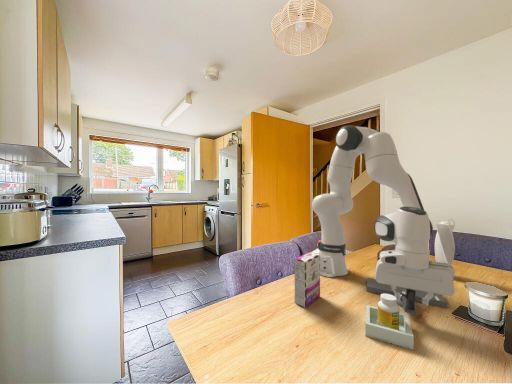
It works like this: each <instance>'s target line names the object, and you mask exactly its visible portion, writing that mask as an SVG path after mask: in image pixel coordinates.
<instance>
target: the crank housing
mask: <svg viewBox="0 0 512 384" xmlns="http://www.w3.org/2000/svg"><path fill="white" fill-rule="evenodd" d="M395 290H396V291H397V292H399V291H406V288H403V287H398V286H396V289H395ZM366 292H368V293H374V294H379V295H381V294H390V295H393V296H395V294H394V292H393V290H392V289H391V285H387V284H382V283H378V282H377V281H376V280H375V277H374V278H373V277H366ZM426 295H427V293H426V292H425V291H420V290H416V298H415V307H416V308H417V303H421V304H422V302H421V301H422V299H421V298H422V297H424V298H425V297H426ZM396 304H397V305H398V307H399V306H400V307H402V308H403V304H402V301H401V300H397V303H396ZM429 305H431V306H437V307H441V308H445V309H448V301H447V300H446V298H445V297H444V295H441V294H436V293H434V294H433V297H432V298H431V299H430V301H429Z"/></svg>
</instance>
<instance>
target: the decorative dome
mask: <svg viewBox="0 0 512 384" xmlns="http://www.w3.org/2000/svg"><path fill="white" fill-rule="evenodd" d="M395 246H396V243H394V244H388V245H385V246H382V248H381V249H380V250H379V251H378V252H377V253H376V254H377V255H376V256H377V259H376V261H378V260H379V259H380V252H382V251H388V250H395Z"/></svg>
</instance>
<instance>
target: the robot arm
mask: <svg viewBox="0 0 512 384" xmlns="http://www.w3.org/2000/svg"><path fill="white" fill-rule="evenodd" d="M335 145H336V146H335V147H334V149H333V152H332V155H331V158H330V163H329V166H328V167H329V168H328V172H327V177H326V181H327V183H328V184H329V190H330V191H329V193H321V194H319V195H317V196H314V197H313V199H312V202H311V208H312V211H313V212H314V214H316V215H317V218H318V220H319V222H320V229H321V230H320V231H321V239H319V240H318V242H317V243H316V247H317V248H316V249H314V250H313V251H311V252H312V253H316V254H320V276H324V277H328V278H334V277H342V276H346V275H347V274H349V271H348V268H347V263H346V261H347V260H346V255H347V254H346V253H347V246H346V241H345V240H346V239H345V237H346V236H345V235H346V234H345V233H346V229H345V226H344V225H343V224H342V221H341V219H340V215H345V214H347V213H349V212H350V211H352V210H353V208H354V200H353V198H352V193H351V186H352V185H351V183H352V178H353V174H354V170H355V165H356V160H357V158H358V157H359V156H360V155H361V156H363V157H364V162H365V170H366V174H367V175H368V177H369V178H370V179H371V180H373V181H374V182H376V183H377V184H380V185H383V186H386V187H389V188H390V189H392V190H393V191H395V192H396V193H397V194H398V196H399V198H400V201H401V203H402V206H401V207H399V208H397V210H396V211H393V212H391V213H386V214H383V215H379V216H378V217H377V218H376V219H375V221H374V232H375V234H376V237H378V239H380V240H381V241H384V242H388V243H389V242H393V243H394V244H395V245H396V246H395V250H388V251H382V252H380V259H379V260H377V262H376V266H375V270H374V271H375V273H374V279H375V280H376V281H377V282H378V283H382V284H387V285H391V289H392V290H393V292H394V294H395V297H396V298H397V300H400V293H398V292H397V291H396V290H395V289H396V286H398V287H403V288H409V289H414V290H420V291H425V292H426V293H427V295H426V297H425V298H424V297H422V298H421V299H422V301H421V302H422V303H421V302H420V303H421V304H422V306H427V307H429V305H430V304H429V301H430V299H431V298H432V297H433V294H434V293H436V294H441V295H443V296H446V297H452V296H453V295H455V286H454V280H453V278H454V277H455V275H456V269H455V267H453V266H451V265H448V264H447V263H439V262H436V261H434V260H430V256H431V252H430V247H429V241H430V239H431V237H432V235H433V233H434V227H433V223H432V221H431V219H430V217H429V214H428V213H427V211H425V209H424V206H423V203H422V199H421V197H420V196H419V192H418V190H417V187H416V185H415V183H414V180H413V178H412V176H411V175H410V174H409V173H407V171H406V170H405V169H404V167H403V166H402V164H401V162H400V160H399V154H398V150H397V147H396V144H395V142H394V139H393V138H392V136H391V134H390V133H389V132H385V131H381V130H378V129H372V128H370V127H367V126H358V125H357V126H355V125H344V126H342V127H340V128H339V130H337V133H336V135H335ZM448 266H449V267H448Z"/></svg>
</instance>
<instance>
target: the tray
mask: <svg viewBox="0 0 512 384" xmlns="http://www.w3.org/2000/svg"><path fill="white" fill-rule="evenodd" d="M365 305H366V306H365V308H366V309H365V337H368V338H371V339H374V338H375V340H378V341H382V342H385V343H388V344H391V343H392V345H395V346H399V347H402V348H404V349H405V348H406V349H408V348H409V349H408V350H412V351H413V350H414V347H415V346H414V341H415V339H414V333H413V330H412V326H411V323H410V319H409V316H408V313H407V314H406V313H404V312H403V313H402V312H399V330H395V329H391V328H387V327H384V326H380V325H378V306H373V305H368V304H365Z"/></svg>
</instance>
